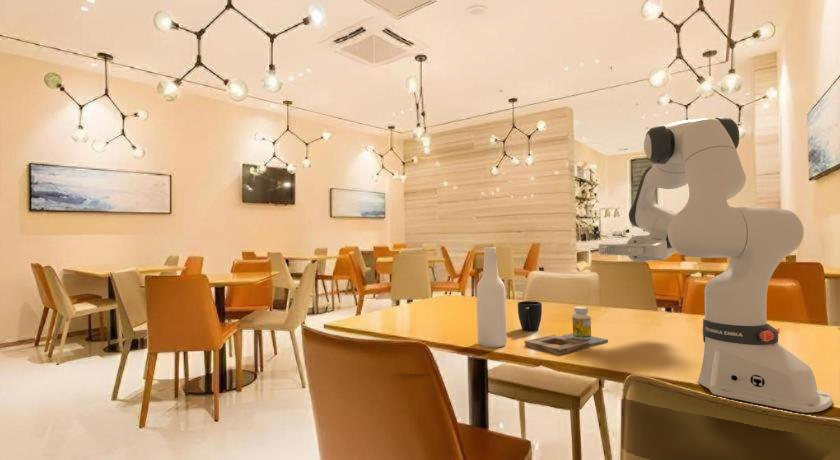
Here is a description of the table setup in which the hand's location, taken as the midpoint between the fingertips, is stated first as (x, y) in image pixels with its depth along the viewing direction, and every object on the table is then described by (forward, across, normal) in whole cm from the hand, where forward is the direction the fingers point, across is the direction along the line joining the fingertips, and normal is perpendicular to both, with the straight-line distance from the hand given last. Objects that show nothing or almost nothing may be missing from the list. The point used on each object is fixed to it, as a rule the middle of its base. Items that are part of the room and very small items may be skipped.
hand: (616, 250), depth 143 cm
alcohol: (+35, -20, +28) cm, 49 cm away
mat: (+10, -6, +28) cm, 30 cm away
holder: (+22, -6, +28) cm, 36 cm away
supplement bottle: (+10, -6, +27) cm, 30 cm away
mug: (+12, -26, +28) cm, 40 cm away
